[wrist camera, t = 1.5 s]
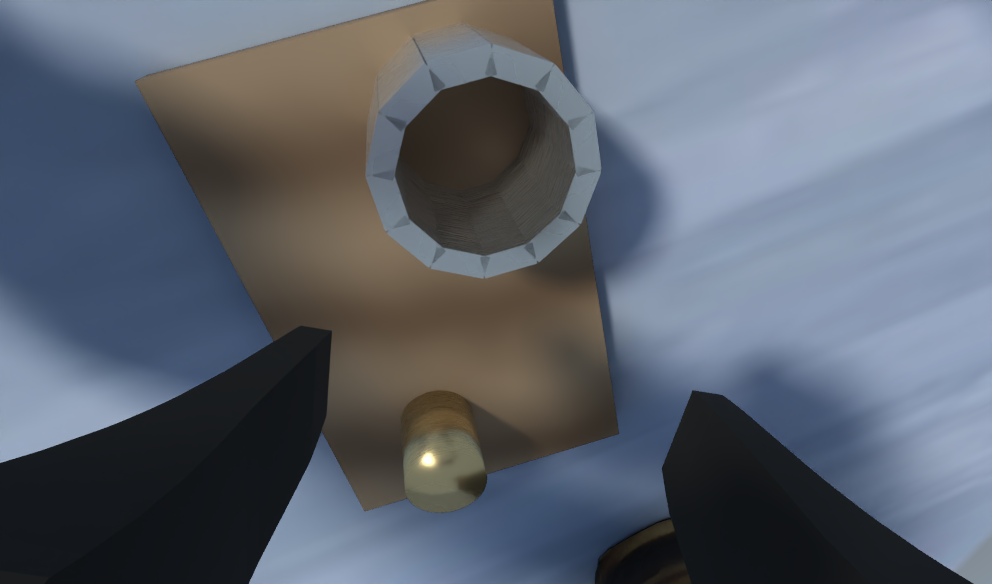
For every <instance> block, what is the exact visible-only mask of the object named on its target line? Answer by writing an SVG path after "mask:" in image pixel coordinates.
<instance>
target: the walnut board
mask: <svg viewBox="0 0 992 584" xmlns="http://www.w3.org/2000/svg"><path fill="white" fill-rule="evenodd" d="M459 22H461V23H463V22H464V23H467V24H470V25H473V26H476V27H479V28H483V29H486V30H489V31H492V32H495V33H498V34H501V35H504V36H507V37H510V38H512V39H513V40H515V41H517V42H518V43H520V44H522V45H524V46H525V47H527V48H529V49H530V50H532V51H534V52H535V53H537V54H539V55H541V56H542V57H544V58H546V59H547V60H549V61H551V62H553V63H554V64H556V66H557V67H558V68H559V69H560V70H561V72H562V73H563V74H564V71H563V64H562V58H561V51H560V45H559V38H558V31H557V25H556V18H555V12H554V5H553V0H426V1H422V2H419V3H415V4H411V5H407V6H404V7H400V8H396V9H392V10H389V11H385V12H381V13H377V14H374V15H370V16H366V17H363V18H359V19H355V20H351V21H348V22H344V23H340V24H336V25H333V26H329V27H325V28H322V29H318V30H314V31H310V32H307V33H303V34H299V35H295V36H292V37H288V38H284V39H280V40H277V41H273V42H269V43H266V44H262V45H258V46H254V47H251V48H247V49H243V50H239V51H236V52H232V53H228V54H224V55H221V56H217V57H213V58H210V59H206V60H202V61H198V62H195V63H191V64H187V65H183V66H180V67H176V68H172V69H169V70H165V71H161V72H157V73H154V74H150V75H146V76H145V77H143V78H141V79H139V80H137V81H135V83H136V85H137V87H138V89H139V90H140V92H141V94H142V96H143V98H144V100H145V102H146V103H147V105H148V107H149V109H150V111H151V113H152V115H153V117H154V118H155V120H156V122H157V124H158V126H159V128H160V130H161V132H162V133H163V135H164V137H165V139H166V141H167V143H168V145H169V146H170V148H171V150H172V152H173V154H174V156H175V158H176V160H177V161H178V163H179V165H180V167H181V169H182V171H183V173H184V175H185V176H186V178H187V180H188V182H189V184H190V186H191V188H192V189H193V191H194V193H195V195H196V197H197V199H198V201H199V203H200V204H201V206H202V208H203V210H204V212H205V214H206V216H207V218H208V219H209V221H210V223H211V225H212V227H213V229H214V231H215V232H216V234H217V236H218V238H219V240H220V242H221V244H222V246H223V247H224V249H225V251H226V253H227V255H228V257H229V259H230V261H231V262H232V264H233V266H234V268H235V270H236V272H237V274H238V275H239V277H240V279H241V281H242V283H243V285H244V287H245V289H246V290H247V292H248V294H249V296H250V298H251V300H252V302H253V303H254V305H255V307H256V309H257V311H258V313H259V315H260V317H261V318H262V320H263V322H264V324H265V326H266V328H267V330H268V332H269V333H270V335H271V337H272V339H273V341H276V340H277V339H279V338H281V337H282V336H284V335H285V334H287V333H289V332H290V331H292V330H294V329H295V328H297V327H299V326H307V327H313V328H319V329H325V330H331V331H332V340H331V355H330V371H329V386H328V402H327V416H326V419H325V422H324V425H323V427H322V430H321V431H322V432H323V434H324V436H325V438H326V440H327V442H328V444H329V446H330V447H331V449H332V451H333V453H334V455H335V457H336V459H337V461H338V462H339V464H340V466H341V468H342V470H343V472H344V474H345V475H346V477H347V479H348V481H349V483H350V485H351V487H352V489H353V490H354V492H355V494H356V496H357V498H358V500H359V502H360V504H361V505H362V507H363V509H364V511H368V510H371V509H374V508H378V507H381V506H384V505H387V504H391V503H394V502H397V501H401V500H404V499H407V496H406V493H405V484H404V467H403V451H402V434H401V416H402V413H403V411H404V409H405V407H406V406H407V405H408V404H409V403H410V402H411V401H412V400H413V399H415V398H416V397H418V396H420V395H422V394H425V393H427V392H431V391H450V392H454V393H457V394H459V395H461V396H462V397H464V398H465V399H466V400H467V401H468V402H469V404H470V405H471V407H472V411H473V415H474V420H475V424H476V429H477V433H478V438H479V442H480V447H481V452H482V456H483V461H484V465H485V470H486V474H489V473H492V472H496V471H499V470H502V469H505V468H509V467H512V466H515V465H519V464H522V463H525V462H528V461H532V460H535V459H538V458H542V457H545V456H548V455H551V454H555V453H558V452H561V451H564V450H568V449H571V448H574V447H578V446H581V445H584V444H587V443H591V442H594V441H597V440H600V439H604V438H607V437H610V436H614V435H617V434H619V430H618V423H617V417H616V410H615V404H614V397H613V391H612V384H611V378H610V371H609V365H608V358H607V352H606V345H605V338H604V332H603V325H602V319H601V312H600V306H599V299H598V293H597V286H596V280H595V273H594V267H593V260H592V254H591V247H590V241H589V234H588V227H587V221H586V214H585V215H584V218H583V220H582V223H581V224H579V223H578V224H579V225H580V226H579V227H578V228H577V229H576V230H575V231H573V232H572V233H571V234H570V235H569V236H568V237H567V238H566V239H565V240H563V241H562V242H561V243H560V244H559V245H558V246H557V247H556V248H555V249H553V250H552V251H551V252H550V253H549V254H548V255H547V256H546V257H545V258H543V259H542V260H541V261H540V262H538V261H537V264H534V265H530V266H527V267H524V268H520V269H517V270H513V271H510V272H506V273H503V274H499V275H496V276H493V277H489V278H486V279H485V276H484V278H483V279H482V278H477V277H472V276H466V275H461V274H456V273H450V272H445V271H440V270H434V269H431V268H430V267H429V268H428V267H427V266H426V265H425V264H423V263H422V262H421V261H420V260H418V259H417V258H416V257H415V256H414V255H412V254H411V253H410V252H409V251H407V250H406V249H405V248H404V247H403V246H401V245H400V244H399V243H398V242H397V241H395V240H394V239H393V238H392V237H390V236H389V235H388V234H387V233H386V231H385V230H384V227H383V224H382V221H381V219H380V216H379V213H378V210H377V208H376V205H375V202H374V199H373V197H372V194H371V191H370V188H369V185H368V183H367V180H366V177H365V176H366V175H365V169H366V141H367V121H368V116H369V111H370V106H371V101H372V96H373V91H374V86H375V81H376V76H377V75H378V72H379V71H380V70H381V69H382V68H383V66H384V65H385V64H386V63H387V62H388V61H389V60H390V59H391V58H392V57H393V55H394V54H395V53H396V52H397V51H398V50H399V49H400V48H401V47H402V46H403V45H404V43H405V42H406V41H407V40H408V39H409V38H410V37H411V36H412V37H413V35H415V34H419V33H422V32H426V31H430V30H433V29H437V28H441V27H444V26H448V25H452V24H456V23H459ZM413 39H414V37H413ZM529 123H530V121H529V116H528V111H527V106H526V101H525V95H524V90H523V86H522V85H519V84H515V83H512V82H509V81H505V80H502V79H499V78H495V77H492V76H490V77H486V78H482V79H479V80H475V81H472V82H468V83H464V84H461V85H457V86H453V87H450V88H446V89H443V90H440V92H439V93H438V94H437V95H436V96H435V97H434V98H433V99H432V100H431V101H430V102H429V103H428V104H427V105H426V106H425V107H424V108H423V109H422V110H421V111H420V112H419V113H418V115H417V116H416V117H415V118H414V119H413V120H412V121H411V122H410V123H409V124H408V125H407V126H406V127H405V131H404V135H403V140H402V144H401V148H400V153H399V155H400V158H401V159H402V160H403V161H404V162H405V163H406V164H407V165H408V166H409V167H410V168H411V169H412V170H414V171H415V172H416V173H417V174H418V175H419V176H420V177H421V178H422V179H423V180H424V181H426V182H427V183H431V184H435V185H439V186H443V187H448V188H452V189H456V190H464V189H467V188H471V187H474V186H478V185H481V184H485V183H489V182H492V181H494V180H495V179H496V178H497V177H498V176H499V175H500V174H501V173H502V172H503V171H504V170H505V169H507V168H508V167H509V166H510V165H511V164H512V163H513V162H514V161H515V160H516V159H517V158H518V157H519V154H520V151H521V148H522V145H523V142H524V139H525V136H526V132H527V129H528V126H529Z"/></svg>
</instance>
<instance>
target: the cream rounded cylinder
mask: <svg viewBox="0 0 992 584" xmlns="http://www.w3.org/2000/svg"><path fill="white" fill-rule="evenodd" d="M401 434H402V451H403V467H404V484H405V493H406V496H407V498H408V500H409V501H410V502H411V503H412V504H413V505H414V506H416V507H418V508H420V509H422V510H425V511H428V512H435V513H444V512H451V511H455V510H459V509H461V508H464V507H466V506H468V505H469V504H471V503H472V502H474V501H475V500H476V499H477V498H478V497H479V496H480V495H481V494H482V492H483V491H484V489H485V487H486V483H487V474H486V470H485V465H484V461H483V456H482V452H481V447H480V442H479V438H478V433H477V429H476V424H475V420H474V415H473V411H472V407H471V405H470V404H469V402H468V401H467V400H466V399H465V398H464V397H462V396H461V395H459V394H457V393H454V392H450V391H431V392H427V393H425V394H422V395H420V396H418V397H416V398H415V399H413V400H412V401H411V402H410V403H409V404H408V405H407V406H406V407H405V409H404V411H403V413H402V416H401Z"/></svg>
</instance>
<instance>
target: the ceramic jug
mask: <svg viewBox="0 0 992 584" xmlns="http://www.w3.org/2000/svg"><path fill="white" fill-rule="evenodd" d="M595 584H691V581H690V578H689V575H688V572H687V568H686V565H685V562H684V559H683V556H682V553H681V550H680V546H679V543H678V540H677V537H676V534H675V530H674V527H673V524H672V521H671V520H666V521H663V522H660V523H657V524H655V525H653V526H651V527H649V528H647V529H645V530H643V531H641V532H639V533H637V534H635V535H634V536H632V537H630V538H628V539H626V540H625V541H623V542H621V543H620V544H618V545H616V546H614V547H612V548H610V549H609V550H608V551H607V552H606V553H605V554H604V555H603V556H602V557H601V558H600V559H599V562H598V567H597V571H596V577H595Z"/></svg>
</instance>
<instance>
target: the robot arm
mask: <svg viewBox="0 0 992 584" xmlns="http://www.w3.org/2000/svg"><path fill="white" fill-rule="evenodd" d="M331 340H332V331H331V330H325V329H319V328H313V327H307V326H299V327H297V328H295V329H294V330H292V331H290V332H289V333H287V334H285V335H284V336H282V337H281V338H279V339H277V340H276V341H274V342H273V343H271V344H269V345H268V346H266V347H265V348H263V349H261V350H260V351H258V352H256V353H255V354H253V355H251V356H250V357H248V358H246V359H245V360H243V361H241V362H240V363H238V364H236V365H235V366H233V367H231V368H230V369H228V370H226V371H225V372H223V373H221V374H219V375H217V376H215V377H213V378H211V379H210V380H208V381H206V382H204V383H202V384H200V385H198V386H196V387H195V388H193V389H191V390H189V391H187V392H185V393H183V394H181V395H179V396H177V397H175V398H173V399H171V400H169V401H167V402H165V403H163V404H161V405H159V406H156V407H154V408H152V409H150V410H147V411H145V412H143V413H140V414H138V415H136V416H133V417H131V418H129V419H126V420H124V421H122V422H119V423H117V424H114V425H112V426H109V427H107V428H104V429H101V430H98V431H95V432H93V433H90V434H87V435H84V436H81V437H78V438H76V439H73V440H70V441H67V442H64V443H62V444H59V445H56V446H53V447H50V448H47V449H45V450H41V451H38V452H35V453H32V454H29V455H25V456H22V457H19V458H15V459H12V460H9V461H5V462H2V463H0V584H249V582H250V579H251V577H252V575H253V573H254V571H255V569H256V567H257V564H258V562H259V560H260V558H261V556H262V554H263V552H264V551H265V549H266V547H267V545H268V543H269V541H270V539H271V537H272V535H273V533H274V531H275V529H276V527H277V525H278V523H279V521H280V519H281V518H282V516H283V514H284V512H285V510H286V508H287V506H288V504H289V502H290V500H291V498H292V496H293V494H294V492H295V490H296V488H297V486H298V484H299V482H300V480H301V478H302V476H303V474H304V473H305V471H306V468H307V466H308V464H309V462H310V460H311V458H312V455H313V452H314V450H315V447H316V444H317V442H318V439H319V436H320V433H321V430H322V427H323V425H324V422H325V419H326V416H327V402H328V386H329V371H330V355H331ZM662 472H663V478H664V485H665V491H666V497H667V502H668V508H669V513H670V517H671V521H672V524H673V527H674V530H675V534H676V537H677V540H678V543H679V546H680V550H681V553H682V556H683V559H684V562H685V565H686V568H687V572H688V575H689V578H690V581H691V584H973V583H971V582H970V581H968V580H966V579H965V578H963V577H962V576H960V575H958V574H957V573H955V572H953V571H952V570H950V569H948V568H947V567H945V566H943V565H942V564H940V563H939V562H937V561H936V560H934V559H933V558H931V557H929V556H928V555H926V554H925V553H923V552H922V551H920V550H919V549H917V548H916V547H914V546H913V545H911V544H910V543H909V542H907V541H906V540H904V539H903V538H901V537H900V536H898V535H897V534H896V533H894V532H893V531H891V530H890V529H888V528H887V527H885V526H884V525H882V524H881V523H880V522H878V521H877V520H875V519H874V518H873V517H871V516H870V515H869V514H867V513H866V512H865V511H863V510H862V509H861V508H859V507H858V506H857V505H855V504H854V503H853V502H852V501H850V500H849V499H848V498H846V497H845V496H844V495H843V494H841V493H840V492H839V491H837V490H836V489H835V488H834V487H832V486H831V485H830V484H829V483H827V482H826V481H825V480H824V479H822V478H821V477H820V476H819V475H818V474H816V473H815V472H814V471H813V470H811V469H810V468H809V467H808V466H807V465H805V464H804V463H803V462H802V461H801V460H800V459H798V458H797V457H796V456H795V455H794V454H793V453H791V452H790V451H789V450H788V449H787V448H786V447H784V446H783V445H782V444H781V443H780V442H779V441H777V440H776V439H775V438H774V437H773V436H772V435H770V434H769V433H768V432H767V431H766V430H765V429H764V428H762V427H761V426H760V425H759V424H758V423H757V422H755V421H754V420H753V419H752V418H751V417H750V416H748V415H747V414H746V413H745V412H744V411H742V410H741V409H740V408H739V407H738V406H736V405H735V404H734V403H732V402H731V401H730V400H728V399H727V398H726V397H724V396H723V395H718V394H712V393H706V392H699V391H692V394H691V396H690V399H689V401H688V404H687V406H686V409H685V411H684V414H683V416H682V419H681V422H680V424H679V427H678V429H677V432H676V434H675V437H674V439H673V442H672V444H671V447H670V449H669V452H668V454H667V457H666V459H665V462H664V465H663V467H662Z"/></svg>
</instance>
